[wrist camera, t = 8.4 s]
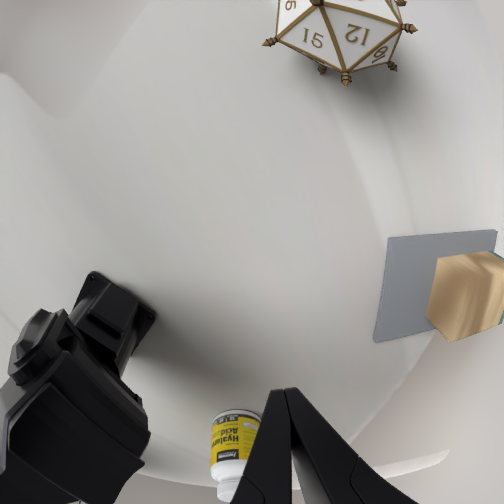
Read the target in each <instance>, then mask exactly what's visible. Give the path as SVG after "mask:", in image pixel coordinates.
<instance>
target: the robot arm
mask: <svg viewBox="0 0 504 504" xmlns="http://www.w3.org/2000/svg"><path fill="white" fill-rule="evenodd" d="M92 276H93V277H94V278H95V280H94V279H93V278H92ZM148 315H150V316H152V318H150V317H149V316H148ZM156 317H157V315H156V313H155V312H154V311H153V310H151V309H150V308H148V307H146V306H145V305H143V304H142V303H140V302H139V301H137V300H136V299H135V298H133V297H132V296H130V295H129V294H127V293H126V292H125V291H123V290H122V289H120V288H119V287H117V286H116V285H114V284H113V283H111V282H109V281H108V280H107V279H105V278H104V277H102V276H101V275H100V274H98V273H97V272H95V271H92V272H90V273H89V274H88V276H87V278H86V280H85V282H84V284H83V287H82V289H81V291H80V293H79V296H78V298H77V300H76V303H75V305H74V308H73V310H72V312H71V314H70V315H69V316H68V314H67V312H66V311H65V310H64V308H63V309H61V310H59V311H58V312H55V313H51V312H48V311H46V310H43V309H40V310H38V311H37V312H36V313H35V314H34V315H33V316H32V317H31V319H30V320H29V321H28V322H27V323H26V324H25V326H24V327H23V329H22V331H21V333H20V336H19V338H18V340H17V342H16V343H15V344H14V345H13V347H12V351H11V356H10V361H9V366H8V374H9V376H10V378H9V379H8V380H7V382H6V383H5V384H4V385H3V387H2V388H1V389H0V504H70V503H74V502H78V501H83V502H85V503H86V504H113V503H114V502H115V500H116V499H117V497H118V495H119V493H120V491H121V489H122V487H123V486H124V484H125V483H126V481H127V480H128V479H129V478H130V477H131V476H132V475H133V473H135V472H136V471H138V470H139V469H140V468H141V467H143V466H144V464H145V462H144V461H143V460H141V459H140V457H141V456H142V454H143V453H144V451H145V449H146V447H147V445H148V443H149V439H150V435H151V432H150V431H149V430H148V417H147V415H146V413H145V410H144V409H143V406H142V399H141V398H140V397H139V396H138V395H137V394H135V393H134V392H132V391H131V390H130V388H129V387H128V386H127V385H126V384H125V383H124V382H123V381H122V380H121V377H122V375H123V372H124V370H125V367H126V365H127V362H128V360H129V357H130V356H131V354H132V353H133V352H134V350H135V349H136V347H137V346H138V344H139V343H140V342H141V340H142V339H143V337H144V336H145V334H146V333H147V332H148V330H149V329H150V327H151V326H152V325H153V323H154V322H155V320H156ZM292 459H293V463H294V466H295V470H296V473H297V476H298V480H299V483H300V487H301V490H302V493H303V496H304V500H305V503H306V504H418V503H417V502H415V501H414V500H412V499H411V498H409V497H408V496H406V495H405V494H404V493H402V492H401V491H399V490H398V489H397V488H395V487H394V486H392V485H391V484H390V483H388V482H387V481H386V480H385V479H383V478H382V477H381V476H380V475H378V474H377V473H376V472H375V471H374V470H373V469H372V468H371V467H370V466H368V464H367V463H366V462H365V461H364V460H363V459H362V458H361V457H358V454H357V453H356V452H355V451H354V450H353V449H352V448H351V447H350V446H349V445H348V444H347V443H346V441H345V440H344V439H343V438H342V437H341V436H340V435H339V434H338V433H337V432H336V431H335V430H334V429H333V427H332V426H331V425H330V424H329V423H328V422H327V421H326V420H325V419H324V417H323V416H322V415H321V414H320V413H319V412H318V411H317V410H316V409H315V407H314V406H313V405H312V404H311V403H310V402H309V401H308V399H307V398H306V397H305V396H304V395H303V394H302V393H301V391H300V390H299V389H298V388H296V387H292V388H285V389H284V390H283V389H275V390H271V391H270V393H269V397H268V400H267V403H266V406H265V409H264V412H263V416H262V419H261V422H260V425H259V428H258V431H257V434H256V437H255V440H254V443H253V445H252V448H251V451H250V454H249V457H248V460H247V463H246V465H245V468H244V471H243V474H242V475H243V476H241V479H240V481H239V484H238V486H237V489H236V491H235V493H234V496H233V498H232V500H231V502H230V504H292Z"/></svg>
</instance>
